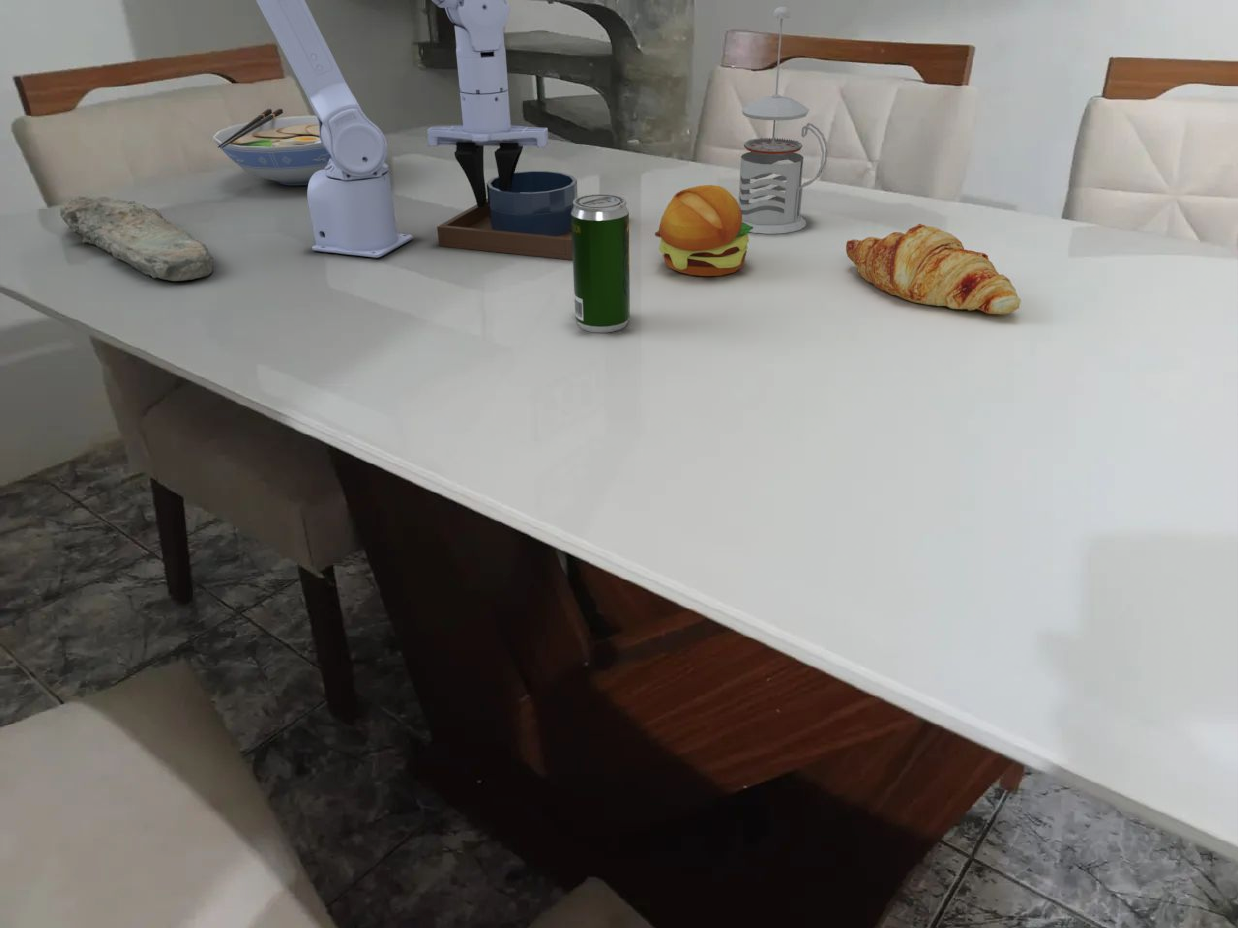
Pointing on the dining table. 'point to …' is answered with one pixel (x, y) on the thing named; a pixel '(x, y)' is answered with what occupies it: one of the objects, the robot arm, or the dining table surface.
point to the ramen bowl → (276, 147)
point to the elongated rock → (138, 237)
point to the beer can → (601, 262)
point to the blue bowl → (533, 203)
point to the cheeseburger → (703, 232)
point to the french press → (756, 164)
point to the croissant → (933, 271)
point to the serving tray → (499, 237)
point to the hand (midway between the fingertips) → (493, 205)
